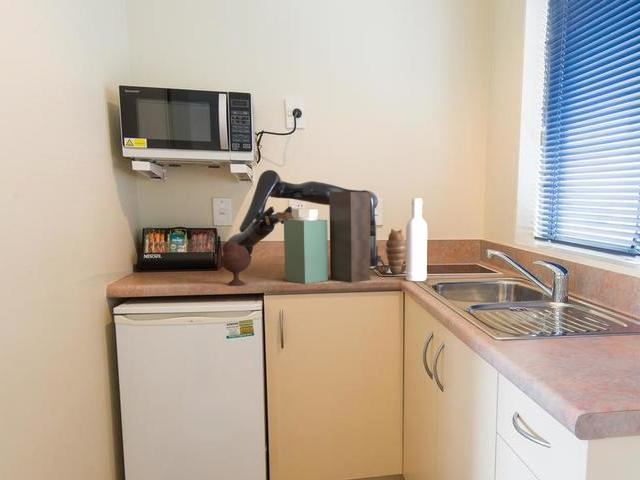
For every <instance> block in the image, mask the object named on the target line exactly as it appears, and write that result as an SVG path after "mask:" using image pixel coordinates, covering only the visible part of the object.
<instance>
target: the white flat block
mask: <svg viewBox="0 0 640 480" xmlns="http://www.w3.org/2000/svg"><path fill="white" fill-rule="evenodd" d="M276 213H277V219H289V220H292V219H293V220H319V208H306V207H299V208H296V207H295V208H293V207H292V213H291V212H283V211H277V212H276Z"/></svg>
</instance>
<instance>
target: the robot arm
mask: <svg viewBox="0 0 640 480" xmlns="http://www.w3.org/2000/svg"><path fill="white" fill-rule="evenodd" d="M329 192H365V193H370V270H375V269H377V268H379V267H378V266H379V263H381V265H382V266H383V267H390V266H389V264H385V263H384V260H383V259H382V256H381V255H379V254H378V252H379V247H378V245H377V220H376V214H375V213H376V212H375V211H376V208H377V207H378V203H379V200H378V197H377V195H376V194H375V193H374V192H373V191H372V190H367V189H362V190H359V189H358V190H357V189H350V188H349V189H348V188H344V187H341V186H338V185H334V184H330V183H326V182H320V181H315V180H314V181H312V180H310V181H305V182H302V183H291V182H288V181H283V180H282V178H281V176H280V175H279V174H278V172H277V171H275V170H273V169H266V170H265V171H263V172H262V173H261V174H260V175H259V178H258V180H257V184H256V187H255V190H254V193H253V196H252V200H251V202H250V204H249V207H248V210H247V211H246V214H245V216H244V218H243V220H242V221H241V224H240V225H239V228H238V230H239V232H238V233H236V234H234V235H231V236H230V237H229V238H228V239H227V241H226V242H228V241H235V242H237V244H238V245H241V246H244V247H245V248H246V249H247V250H248V253H249V256H252V253H253V250H254V246H256V245H257V244H258V243H260V242H261V241H262V240H264V239H265V238H267V236H269V235H270V234H271V233H272V232H274V230H275V226H276V225H277V224H279V223H280V224H281V225H284V220H290V219H277V212H276V213H275V209H274V206H269V208H267V209H266V206H267V202H268V199H269V197H270V198H275V199H285V200H288V199H289V200H294V201H300V202H306V203H310V204H316V205H323V206H329ZM292 209H293V207H292V206H288V207H287V208H285V209H284V210H283V211H282V212H291V213H292ZM404 264H406V260H405V261H403V265H404Z"/></svg>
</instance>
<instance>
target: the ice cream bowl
mask: <svg viewBox="0 0 640 480" xmlns="http://www.w3.org/2000/svg"><path fill="white" fill-rule="evenodd" d="M227 241H228V240H227ZM227 241H226V242H224V243H223V244H222V248H221V249H222V250H221V251H222V256H219V257H218V261H219V264H220V266H221V267H222V268H223V269H224V270H226V271H228V272H230V273H232V274H233V279H231V280H230V281H229V282H228V286H232V287H233V286H235V287H236V286H244V285H245V284H246V283H245V281H243V280H242V279H240V273H241V272H244V271H246V270H247V268H248V267H249V266H250V265H251V263H252V255H250V256H249V253H248V250H247V249H246V248H245V247H244V246H241V245H238V244H237V242H235V241H228V242H227Z"/></svg>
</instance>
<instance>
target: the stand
mask: <svg viewBox="0 0 640 480" xmlns="http://www.w3.org/2000/svg"><path fill="white" fill-rule="evenodd" d="M328 207H329V277H330V278H329V279H330V280H331V281H338V282H345V283H357V282H363V281H369V280H371V269H370V193H365V192H329V205H328Z"/></svg>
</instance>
